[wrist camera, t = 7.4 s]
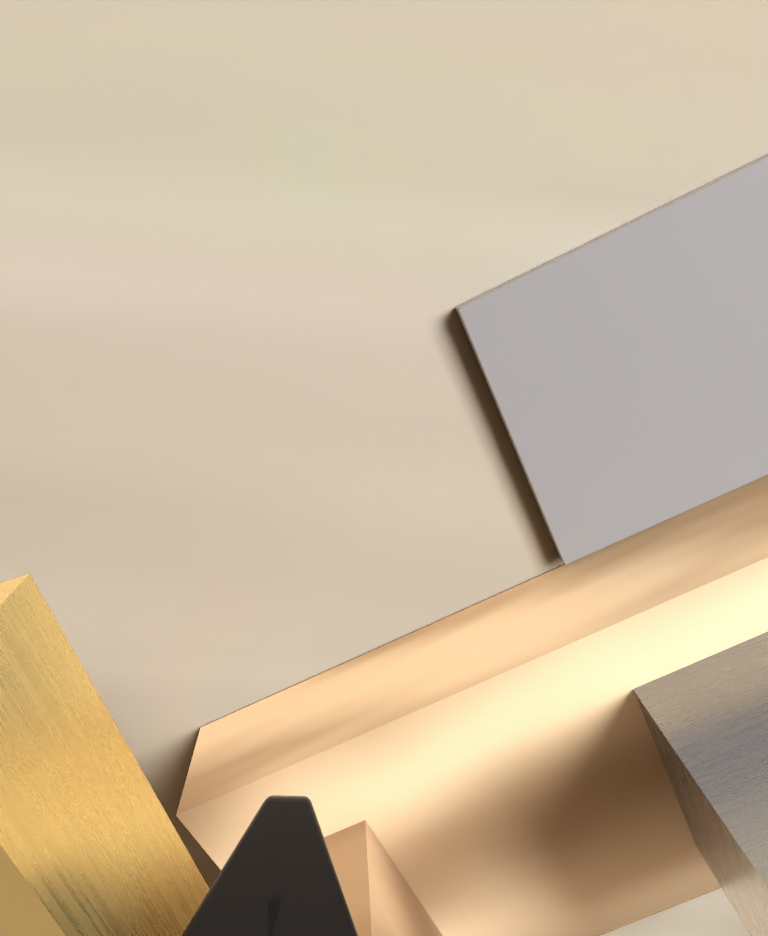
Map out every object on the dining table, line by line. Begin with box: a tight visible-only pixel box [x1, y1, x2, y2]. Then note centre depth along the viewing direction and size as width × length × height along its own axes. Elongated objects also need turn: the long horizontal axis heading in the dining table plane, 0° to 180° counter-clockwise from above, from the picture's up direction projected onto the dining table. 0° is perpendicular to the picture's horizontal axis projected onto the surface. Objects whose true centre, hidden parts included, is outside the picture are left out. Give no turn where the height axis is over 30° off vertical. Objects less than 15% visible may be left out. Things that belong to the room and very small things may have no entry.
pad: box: [455, 154, 768, 565], centre depth 15 cm, size 8×9×1 cm
